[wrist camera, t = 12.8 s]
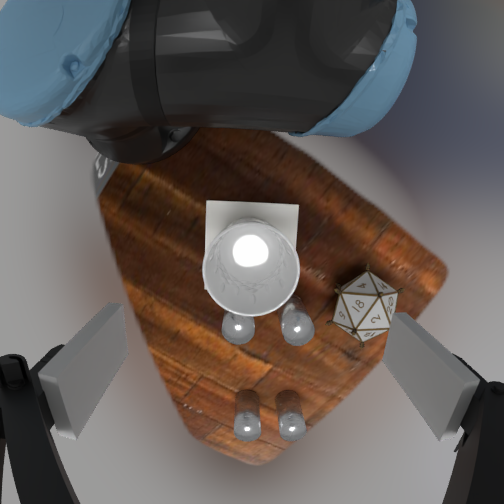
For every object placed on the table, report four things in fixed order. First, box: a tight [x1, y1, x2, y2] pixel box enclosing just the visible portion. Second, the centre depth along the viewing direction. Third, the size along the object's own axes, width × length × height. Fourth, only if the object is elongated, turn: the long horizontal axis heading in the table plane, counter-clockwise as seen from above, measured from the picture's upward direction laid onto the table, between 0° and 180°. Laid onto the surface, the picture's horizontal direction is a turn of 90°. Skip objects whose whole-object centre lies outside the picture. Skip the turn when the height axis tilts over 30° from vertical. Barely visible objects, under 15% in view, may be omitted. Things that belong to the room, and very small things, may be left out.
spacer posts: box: [222, 294, 315, 441], centre depth 36 cm, size 17×10×7 cm, turn 177°
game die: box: [325, 263, 405, 350], centre depth 35 cm, size 9×8×10 cm
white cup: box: [202, 217, 300, 316], centre depth 31 cm, size 8×8×10 cm
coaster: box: [205, 200, 299, 289], centre depth 36 cm, size 10×10×1 cm
